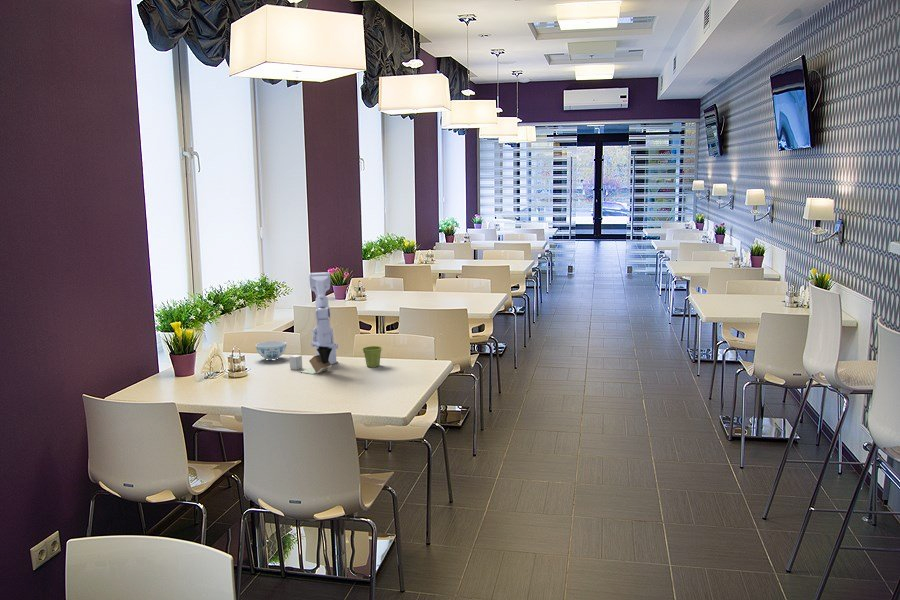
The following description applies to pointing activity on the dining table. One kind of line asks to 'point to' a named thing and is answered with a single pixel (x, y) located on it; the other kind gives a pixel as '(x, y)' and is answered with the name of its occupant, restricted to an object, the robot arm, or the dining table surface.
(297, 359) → the grey block
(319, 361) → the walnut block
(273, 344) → the chinaware
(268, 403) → the dining table surface
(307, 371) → the sage mat
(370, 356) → the plant pot
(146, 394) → the dining table surface
